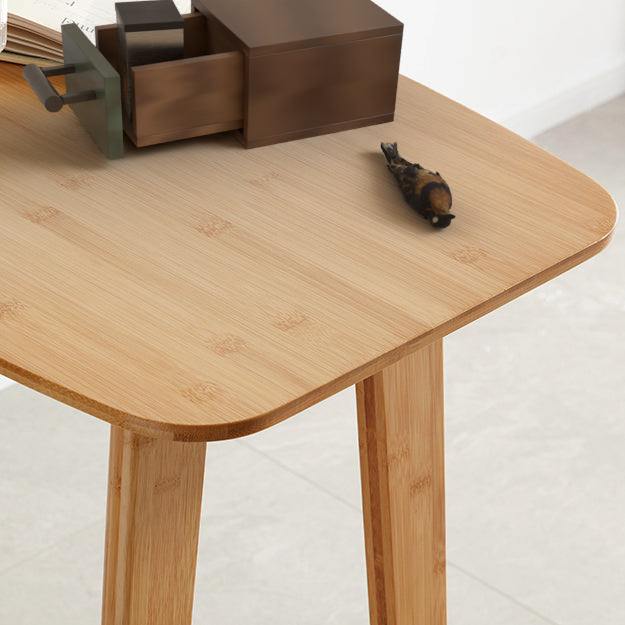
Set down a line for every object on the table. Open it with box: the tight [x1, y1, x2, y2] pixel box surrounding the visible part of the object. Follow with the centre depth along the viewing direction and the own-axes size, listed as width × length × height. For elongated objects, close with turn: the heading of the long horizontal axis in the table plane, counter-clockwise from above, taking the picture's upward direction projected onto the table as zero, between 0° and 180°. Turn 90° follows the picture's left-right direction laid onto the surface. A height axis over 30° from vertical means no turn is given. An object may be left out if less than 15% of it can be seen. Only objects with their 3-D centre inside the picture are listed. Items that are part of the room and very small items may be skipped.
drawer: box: [22, 12, 246, 161], centre depth 89 cm, size 16×10×7 cm, turn 117°
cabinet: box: [190, 0, 405, 150], centre depth 94 cm, size 14×12×9 cm
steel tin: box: [114, 0, 184, 122], centre depth 88 cm, size 4×4×8 cm
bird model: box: [379, 141, 456, 229], centre depth 85 cm, size 3×14×3 cm, turn 14°
